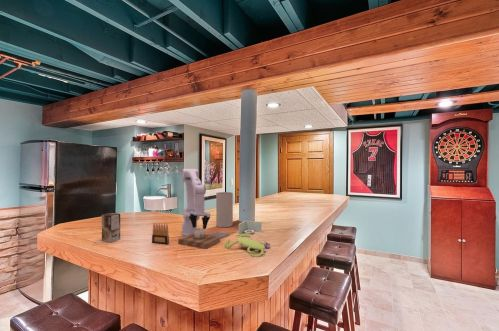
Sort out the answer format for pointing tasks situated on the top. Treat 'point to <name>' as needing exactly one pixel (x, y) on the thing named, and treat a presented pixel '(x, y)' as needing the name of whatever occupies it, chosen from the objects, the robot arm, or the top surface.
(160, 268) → the top surface
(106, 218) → the coffee box
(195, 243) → the walnut board
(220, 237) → the rubber mat
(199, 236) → the steel peg
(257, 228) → the l-shaped corner panel
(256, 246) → the figurine
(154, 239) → the ammunition clip
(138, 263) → the top surface
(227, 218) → the cylinder vase
